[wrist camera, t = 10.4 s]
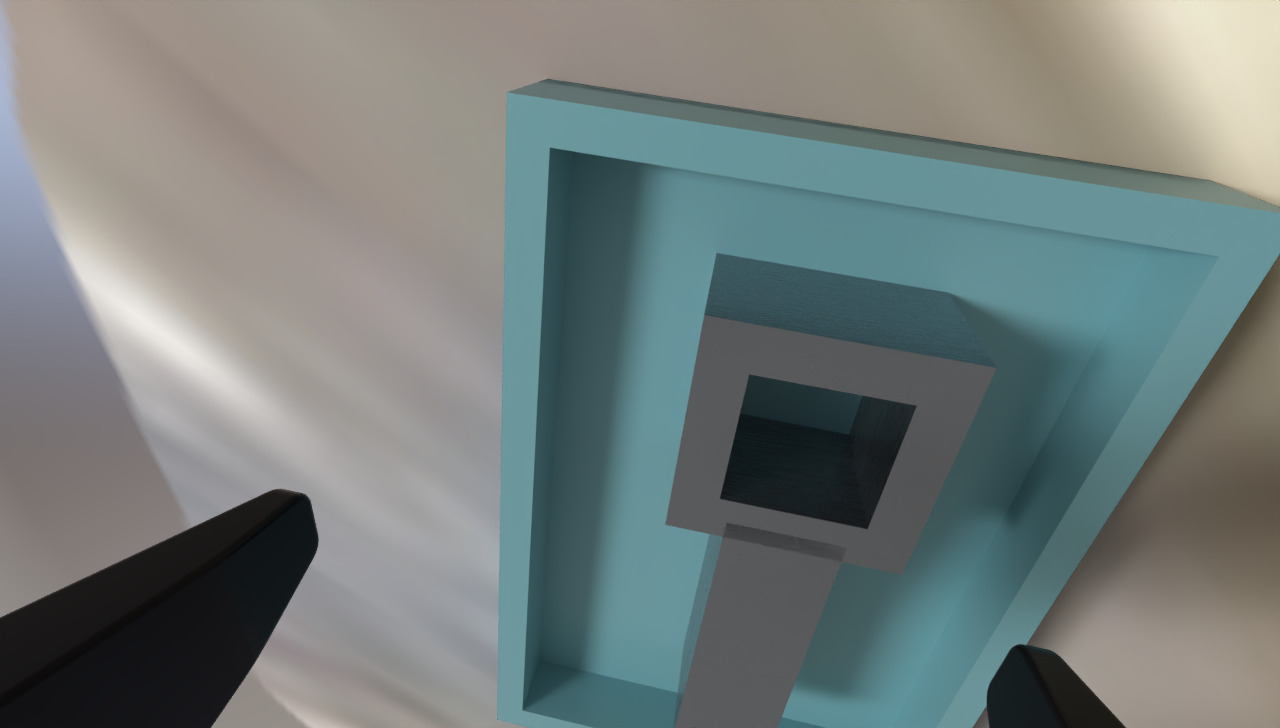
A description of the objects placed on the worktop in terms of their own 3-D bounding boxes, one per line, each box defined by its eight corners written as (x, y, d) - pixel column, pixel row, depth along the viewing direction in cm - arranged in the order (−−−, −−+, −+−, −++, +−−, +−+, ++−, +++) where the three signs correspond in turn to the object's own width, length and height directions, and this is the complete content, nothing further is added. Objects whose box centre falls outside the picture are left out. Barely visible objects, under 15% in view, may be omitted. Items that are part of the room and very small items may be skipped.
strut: (802, 670, 24) (808, 780, 21) (645, 635, 25) (626, 736, 21) (948, 292, 17) (996, 367, 13) (716, 252, 17) (703, 315, 14)
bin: (1211, 181, 15) (1303, 216, 12) (897, 741, 27) (911, 821, 24) (547, 78, 16) (506, 92, 14) (521, 653, 28) (497, 719, 25)
